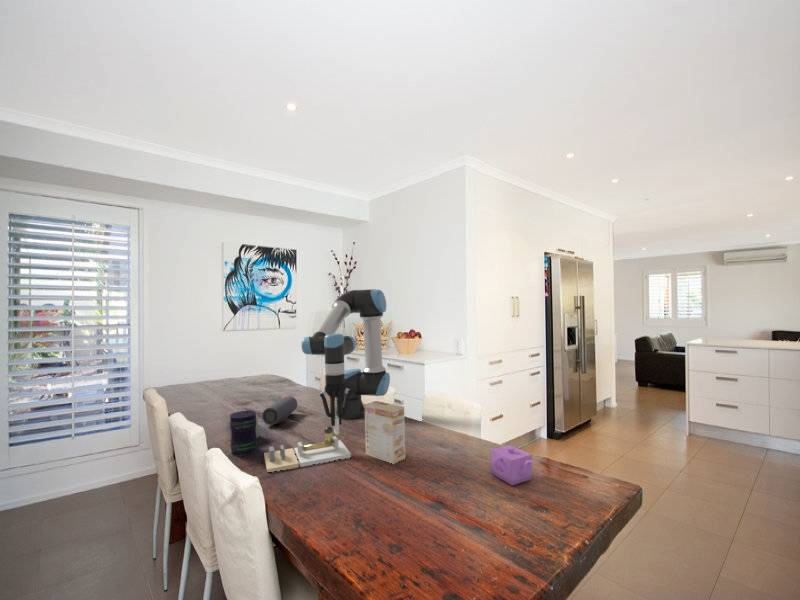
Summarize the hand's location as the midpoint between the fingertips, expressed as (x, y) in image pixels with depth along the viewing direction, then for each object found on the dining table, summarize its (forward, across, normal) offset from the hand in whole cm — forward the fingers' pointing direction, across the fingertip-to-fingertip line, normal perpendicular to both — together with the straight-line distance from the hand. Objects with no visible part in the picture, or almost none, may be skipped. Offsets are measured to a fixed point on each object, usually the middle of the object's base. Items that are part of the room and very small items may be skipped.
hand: (336, 433), depth 154 cm
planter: (+8, +32, -33) cm, 47 cm away
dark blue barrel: (+8, +34, -18) cm, 39 cm away
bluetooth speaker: (+8, +15, -54) cm, 57 cm away
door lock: (+7, +12, 0) cm, 14 cm away
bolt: (+5, +7, 0) cm, 9 cm away
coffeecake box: (+8, -15, +13) cm, 21 cm away
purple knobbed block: (+8, -45, +49) cm, 67 cm away
